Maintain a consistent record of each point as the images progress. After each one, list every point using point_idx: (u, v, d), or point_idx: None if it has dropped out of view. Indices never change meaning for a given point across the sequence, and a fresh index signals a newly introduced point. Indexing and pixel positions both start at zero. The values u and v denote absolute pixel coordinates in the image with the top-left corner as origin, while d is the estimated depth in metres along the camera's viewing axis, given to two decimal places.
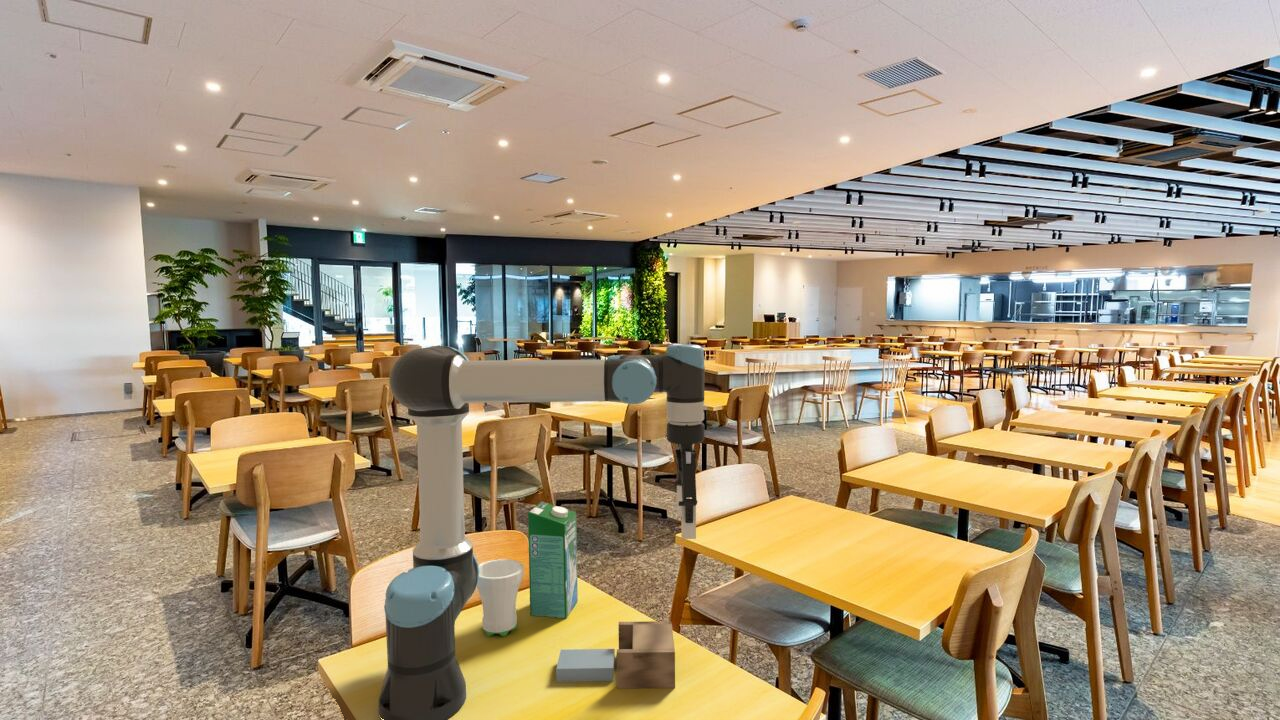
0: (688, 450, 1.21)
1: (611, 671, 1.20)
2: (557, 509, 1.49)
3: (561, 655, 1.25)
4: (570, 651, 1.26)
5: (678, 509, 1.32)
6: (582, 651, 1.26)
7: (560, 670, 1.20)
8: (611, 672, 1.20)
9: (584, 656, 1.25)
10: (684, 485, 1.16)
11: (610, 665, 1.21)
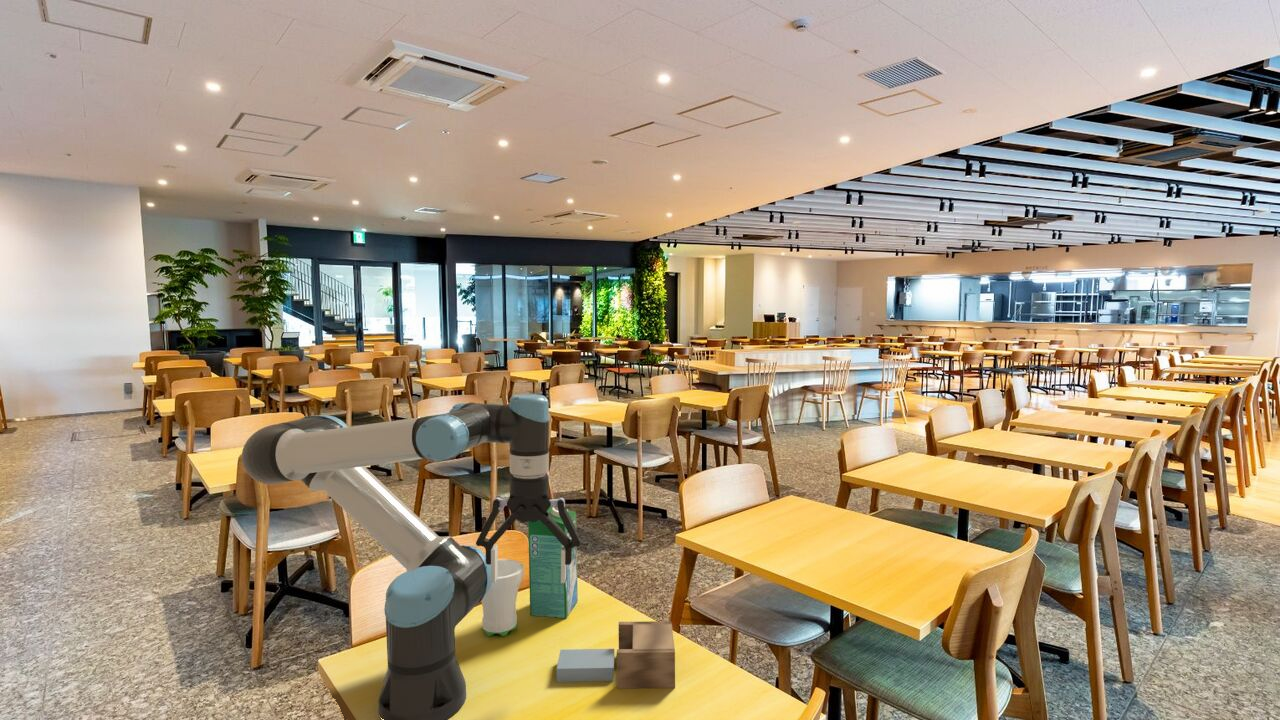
0: None
1: (611, 671, 1.20)
2: None
3: (561, 655, 1.25)
4: (570, 651, 1.26)
5: None
6: (581, 651, 1.26)
7: (561, 670, 1.20)
8: (611, 672, 1.20)
9: (584, 656, 1.25)
10: None
11: (610, 664, 1.21)
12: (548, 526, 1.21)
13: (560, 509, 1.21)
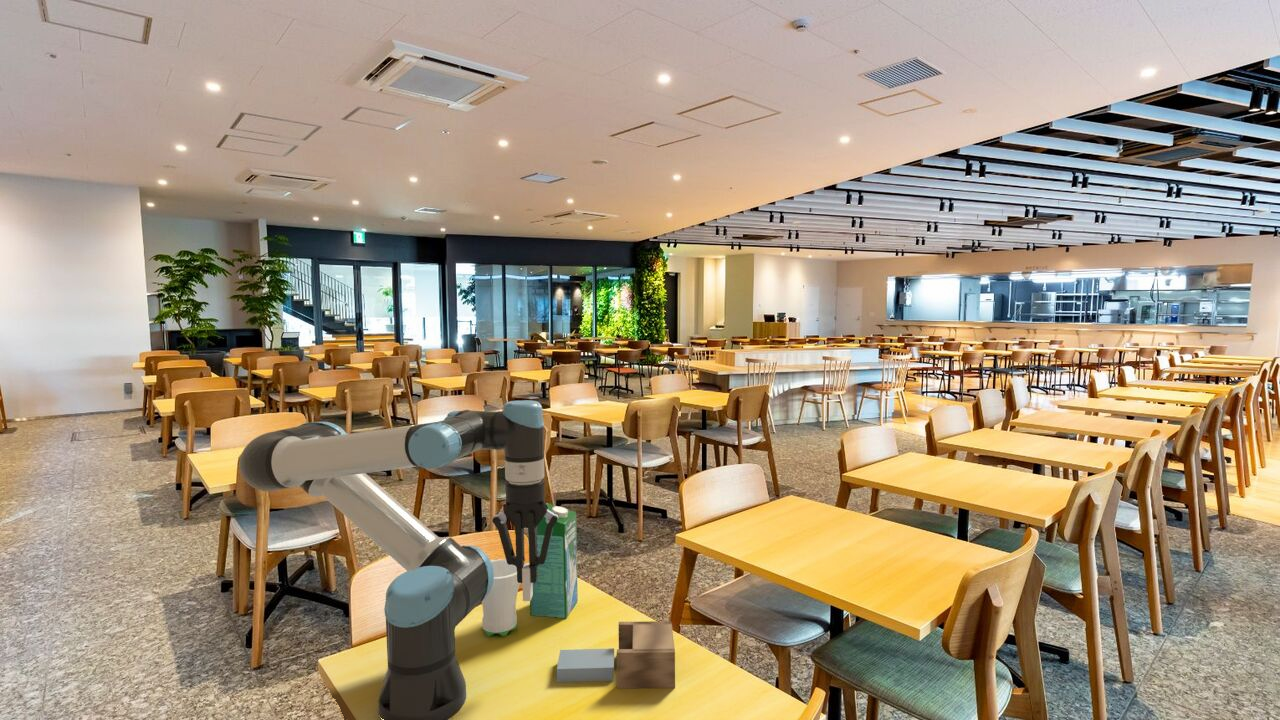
0: None
1: (612, 671, 1.20)
2: (557, 509, 1.49)
3: (561, 656, 1.25)
4: (570, 651, 1.26)
5: None
6: (581, 651, 1.26)
7: (561, 670, 1.20)
8: (612, 672, 1.20)
9: (584, 656, 1.25)
10: None
11: (610, 664, 1.21)
12: (530, 536, 1.21)
13: (550, 524, 1.21)
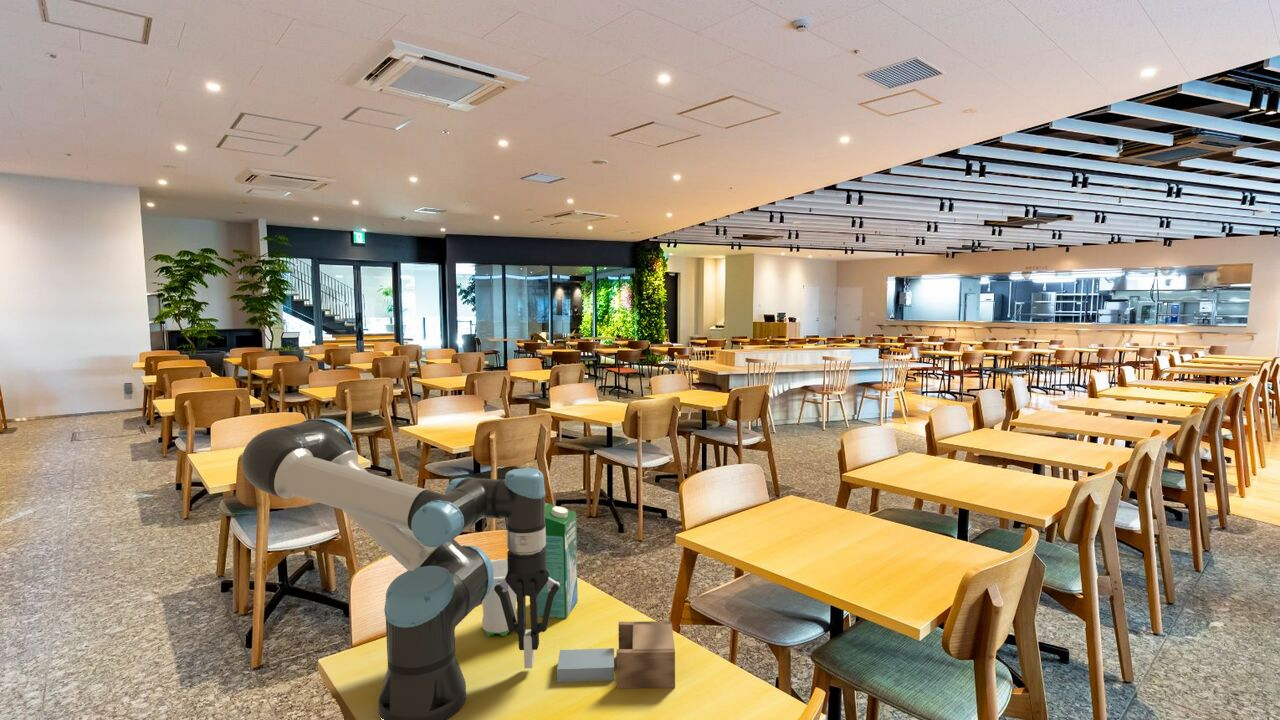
0: None
1: (612, 670, 1.21)
2: (557, 509, 1.49)
3: (561, 656, 1.25)
4: (569, 651, 1.26)
5: None
6: (581, 651, 1.26)
7: (561, 670, 1.20)
8: (612, 671, 1.21)
9: (584, 656, 1.25)
10: None
11: (610, 664, 1.21)
12: (531, 605, 1.22)
13: (551, 592, 1.22)
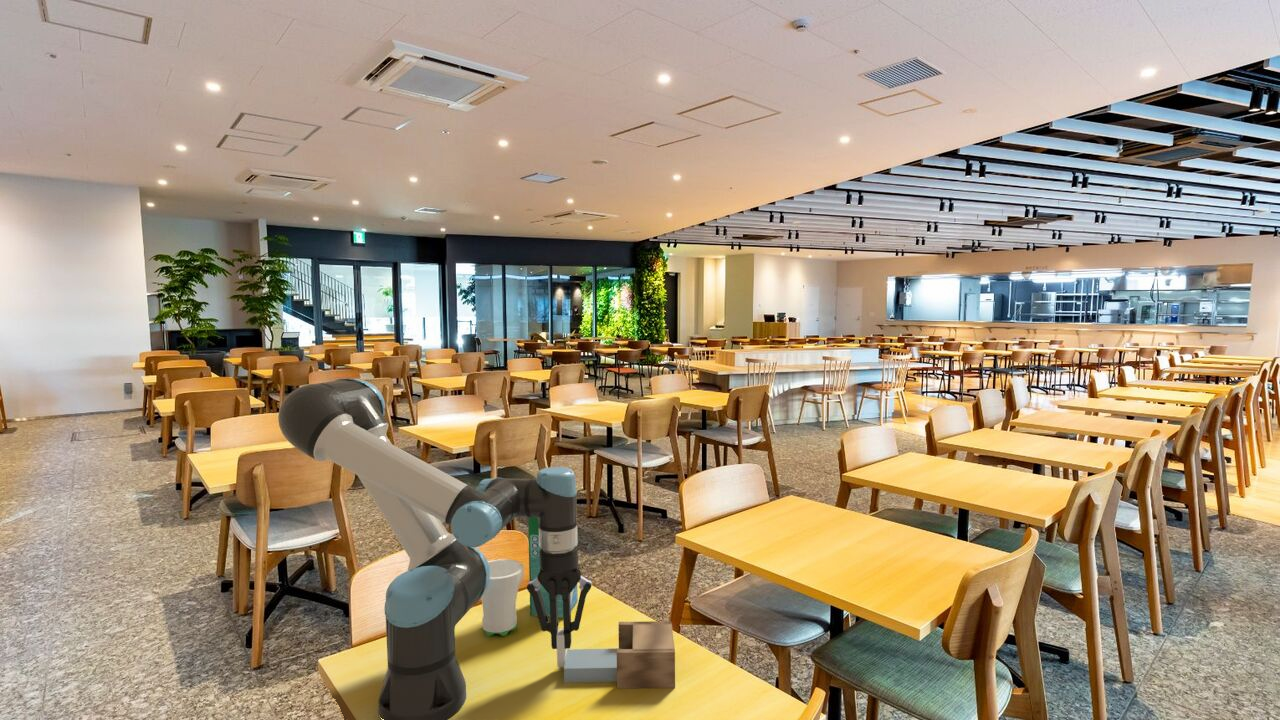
0: None
1: None
2: None
3: (568, 655, 1.25)
4: (577, 651, 1.26)
5: None
6: (588, 651, 1.26)
7: (568, 669, 1.20)
8: None
9: (591, 656, 1.24)
10: None
11: None
12: (564, 603, 1.22)
13: (584, 591, 1.22)
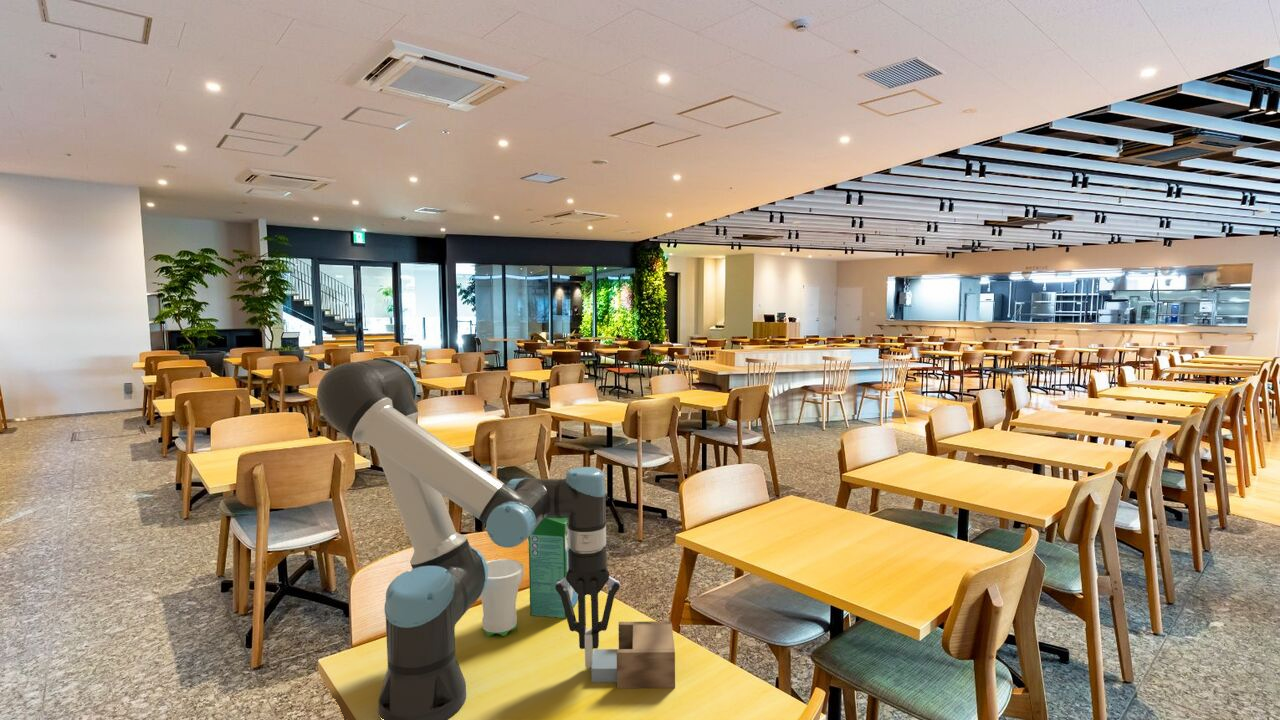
0: None
1: None
2: None
3: (595, 655, 1.25)
4: (604, 651, 1.26)
5: None
6: (615, 651, 1.26)
7: (596, 670, 1.20)
8: None
9: None
10: None
11: None
12: (592, 603, 1.22)
13: (612, 591, 1.22)
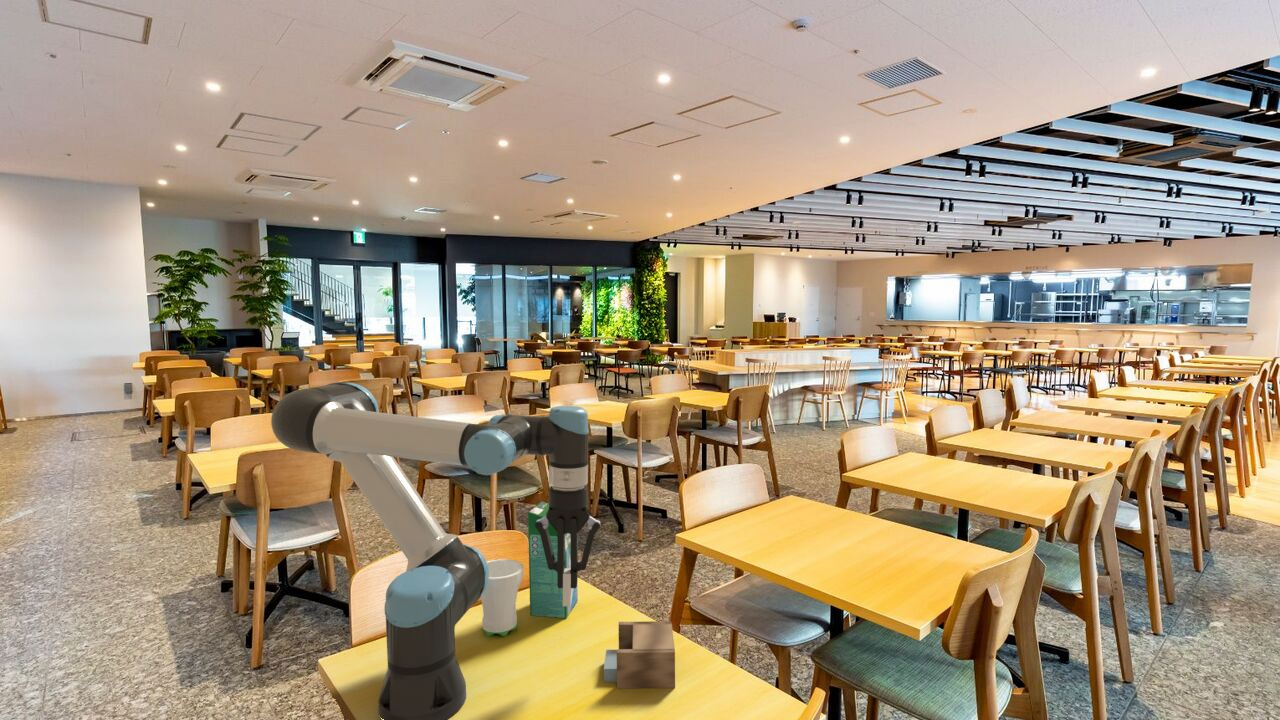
0: None
1: None
2: None
3: (607, 655, 1.25)
4: (616, 651, 1.26)
5: None
6: None
7: (608, 670, 1.20)
8: None
9: None
10: None
11: None
12: (572, 542, 1.21)
13: (592, 530, 1.21)
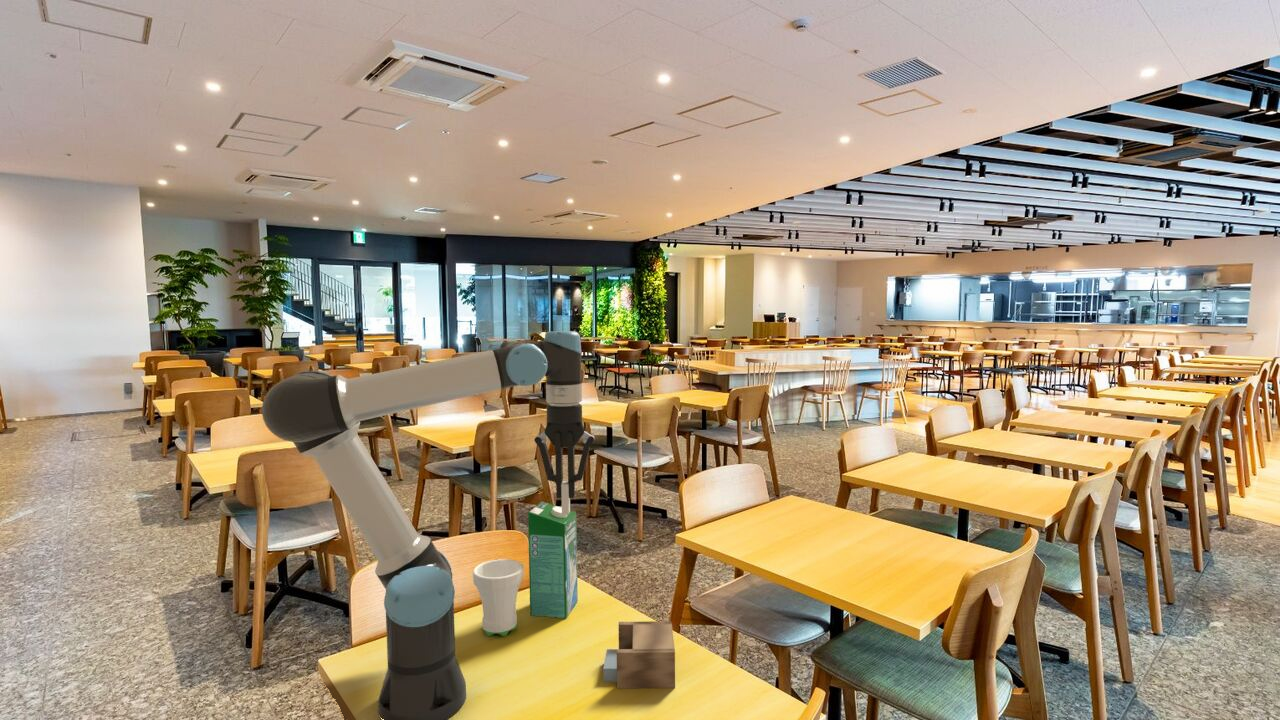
0: None
1: None
2: (557, 509, 1.49)
3: (607, 655, 1.25)
4: (616, 651, 1.26)
5: None
6: None
7: (607, 669, 1.20)
8: None
9: None
10: None
11: None
12: (569, 455, 1.32)
13: (587, 443, 1.32)
